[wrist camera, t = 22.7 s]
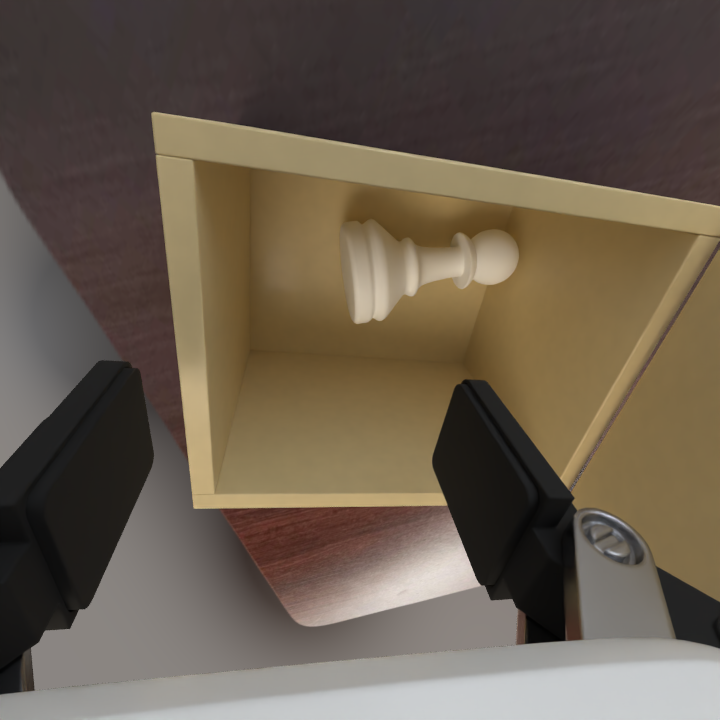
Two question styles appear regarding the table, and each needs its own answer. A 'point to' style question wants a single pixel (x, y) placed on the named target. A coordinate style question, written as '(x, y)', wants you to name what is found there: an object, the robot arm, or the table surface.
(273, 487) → the light wooden open box
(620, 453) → the lid
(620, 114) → the table surface
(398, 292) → the chess pawn
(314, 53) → the table surface
